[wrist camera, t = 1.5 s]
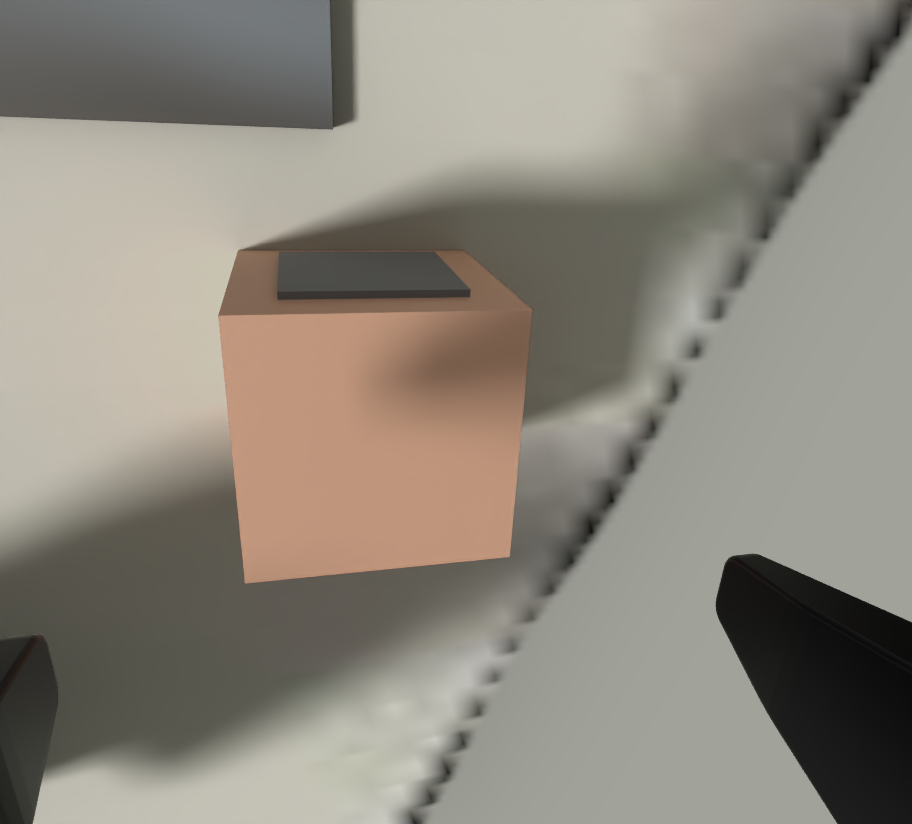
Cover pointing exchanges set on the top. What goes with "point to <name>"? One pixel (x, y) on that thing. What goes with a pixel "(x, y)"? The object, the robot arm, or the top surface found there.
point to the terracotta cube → (371, 409)
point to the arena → (168, 61)
